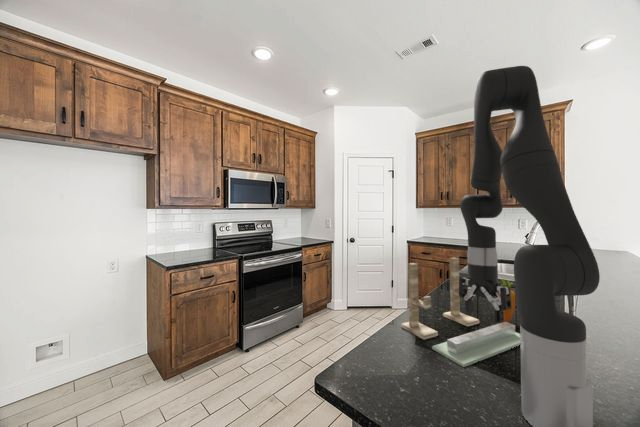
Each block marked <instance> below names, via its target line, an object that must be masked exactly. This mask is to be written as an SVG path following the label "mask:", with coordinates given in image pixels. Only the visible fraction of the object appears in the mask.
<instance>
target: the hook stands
mask: <svg viewBox="0 0 640 427" xmlns="http://www.w3.org/2000/svg"><path fill="white" fill-rule="evenodd" d="M418 266H419V265H418V263H416V262H410V263H407V271H408V272H407V273H408V274H407V278H408V279H407V281H408V282H407V283H408V284H407V285H408V286H407V287H408V289H407V290H408V317H409V318H408V321H407V322H401V323H400V324H401V328H402V329H404V330H406V331H408V332H409V333H411V334H413V335H414V336H416V337H418V338H420V339H422V340H424V341H425V340H428V339H432V338H435V337H437V336H439V331H437V330H435V329H433V328H431V327H429V326H427V325H425V324H423V323H421V322H420V316H419V315H420V314H419V312H420V311H419V307H420V308H422V309H425V310H427V309H431V308H432V296H430V295H427V296H422V300H421V299H419V267H418ZM459 279H460V258H459V257H449V293H450V294H449V297H450V300H449V301H450V311H445V312H443V313H442V316H443V317H444V318H446V319H449V320H451V321H454V322H456V323H458V324H461V325H463V326H466V327H471V326H474V325H478V324H480V319H478V318H476V317H473V316H470V315H467V314H465V313H462V312H461V304H460V302H461V299H460V298H461V297H460V296H459ZM470 288H471V287H470V286H468V291H469V290H470Z"/></svg>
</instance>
